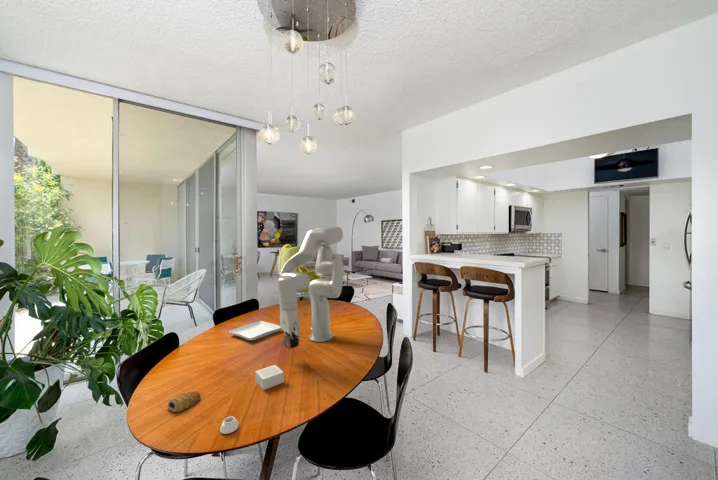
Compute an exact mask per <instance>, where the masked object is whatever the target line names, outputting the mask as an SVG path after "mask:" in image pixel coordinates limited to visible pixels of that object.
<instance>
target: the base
mask: <svg viewBox="0 0 718 480" xmlns="http://www.w3.org/2000/svg"><path fill="white" fill-rule="evenodd" d="M254 375H255V383H256V384H257V385H258V386H259V388H261V390H263V391H265V390H267V389H270V388H273V387H275V386H278V385H280V384H282V383H283V384H284V382H285V376H284V371H283V370H282V369H281V368H280V367H278V366H277V365H276V364H273V365H270V366H267V367H263V368H261V369H258V370H255V372H254Z"/></svg>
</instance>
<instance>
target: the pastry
mask: <svg viewBox="0 0 718 480" xmlns="http://www.w3.org/2000/svg"><path fill="white" fill-rule="evenodd" d="M200 399H201V393H199V391H196V390H195V391H194V390H193V391H188V392H184V393H179V394H178V395H175V396H173V398H170V399H169V401H168V403H167V408H168V410H169V411H172V412H174V413H177V412H178V413H180V412H182V411H184V410H186V409H188V408H190V407H191V406H193V405H194V404H196V403H197V402H198V401H199V400H200ZM196 401H197V402H196ZM195 402H196V403H195ZM189 406H190V407H189Z"/></svg>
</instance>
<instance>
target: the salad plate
mask: <svg viewBox="0 0 718 480" xmlns="http://www.w3.org/2000/svg"><path fill="white" fill-rule="evenodd" d="M280 330H282V329H281V327H280V325H278V324H275V323H272V322H267V321H263V320H259V321H256V322H252V323H248V324H246V325H243V326H242V325H241V326H240V327H237V328H233V329H231V330H229V331H228V332H229V334H232V335H234V336H237V337H239V338H242V339H244V340H248V341H256V340H259V339H262V338H265V337H267V336H270V335H271V334H275V333H277V332H278V331H280Z"/></svg>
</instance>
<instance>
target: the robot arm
mask: <svg viewBox="0 0 718 480" xmlns="http://www.w3.org/2000/svg"><path fill="white" fill-rule="evenodd" d="M343 237H344V232H343V229H342V227H340V226H317V227H315V228H312V229H309V230H308V231H306V234H305V235H304V238H303V240H302V242H301V243H302V244H301V245H300V248H299V250H298V251H297V253H295V254H294V255H292V256H291V257H290V258H289V259H288V260H287V261H286V262H285V263H284V264H283V266H282V268H281V271H280V273H279V276H278V279H277V288H278V299H279V326H280V327H281V329H280V330H283V335H284V334H287V333H289V334H290V335H291V339H290V342H291V348H292V349H294V348H297V347H299V346H298V335H299V336H300V331H299V330H300V320H299V313H298V294H297V293H298V292H297V291H301V290H305V289H306V288H308V293H309V297H310V308H311V309H310V311H311V328H310V331H311V333H310V335H309V339H308V340H310V341H311V342H315V343H324V342H328V341H331V340H332V339H333V338H334V334H333V333H332V332H331V319H330V318H331V317H330V316H331V315H330V303H329V300H328V298H329V299H337V298H339V297H340V295H341V294H342V289H343V282H344V281H343V280H344V273H345V266H344V263H343V261H342V260H340V259H333V256H334V250H333V248H332V245H334V244H339V242H341V241H342V239H343ZM315 259H316V261H315V266H314V274H315V275H316V276H317V277H320V278H315V279H313V280H311V277H310V275H309V274H308V273H306V272H296V270H297V269H298V268H299V267H302V266H305V265H306V264H309V263H311V262H313V261H314V260H315ZM294 332H295V334H294V335H293V334H292V333H294Z"/></svg>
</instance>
